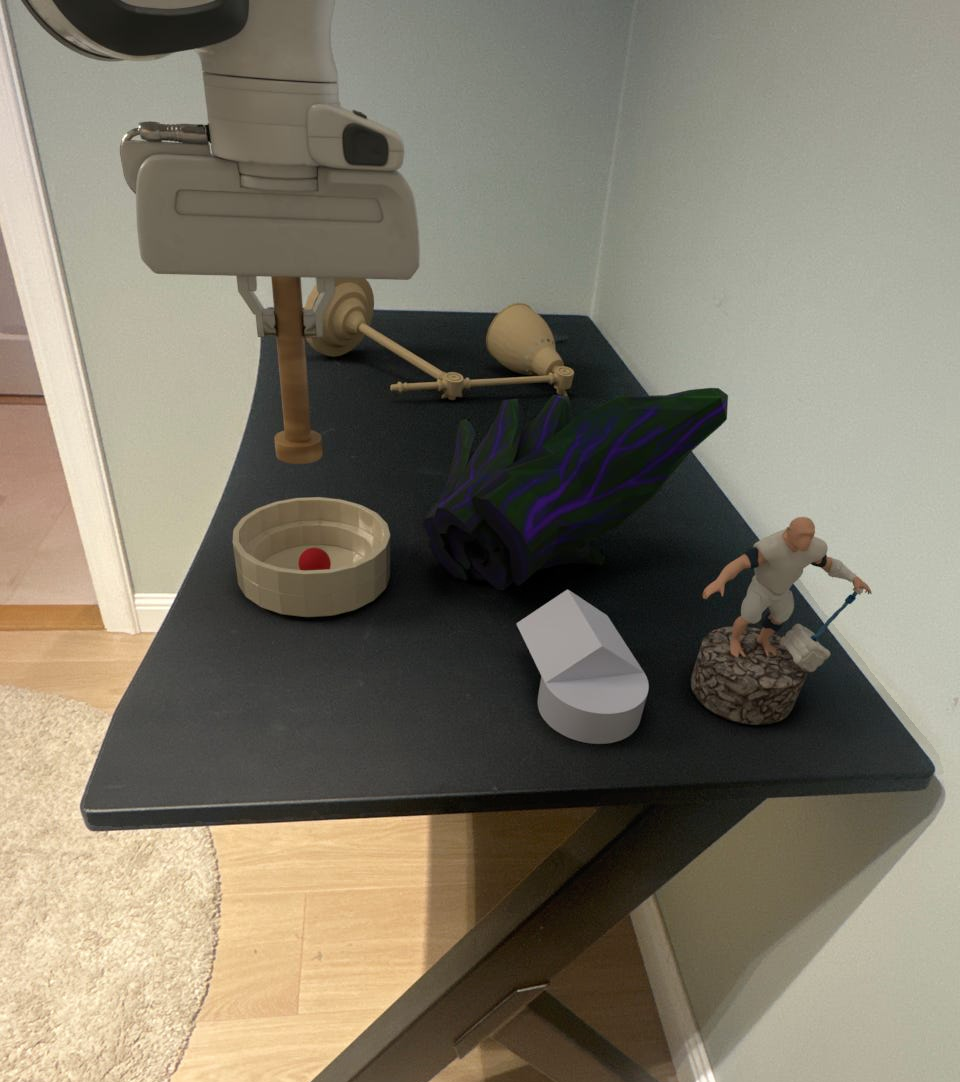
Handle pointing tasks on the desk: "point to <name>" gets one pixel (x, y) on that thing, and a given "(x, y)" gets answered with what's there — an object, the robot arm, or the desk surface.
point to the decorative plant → (560, 480)
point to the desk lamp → (509, 340)
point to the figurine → (766, 631)
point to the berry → (314, 560)
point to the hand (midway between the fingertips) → (290, 335)
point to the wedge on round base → (584, 671)
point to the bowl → (297, 525)
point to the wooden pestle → (293, 376)
